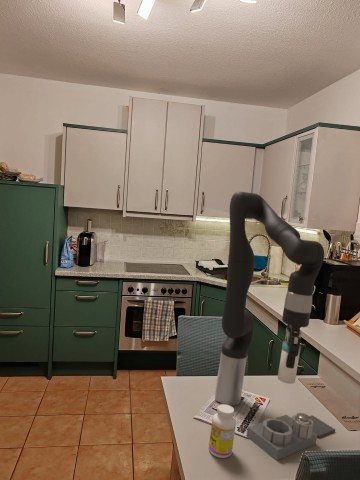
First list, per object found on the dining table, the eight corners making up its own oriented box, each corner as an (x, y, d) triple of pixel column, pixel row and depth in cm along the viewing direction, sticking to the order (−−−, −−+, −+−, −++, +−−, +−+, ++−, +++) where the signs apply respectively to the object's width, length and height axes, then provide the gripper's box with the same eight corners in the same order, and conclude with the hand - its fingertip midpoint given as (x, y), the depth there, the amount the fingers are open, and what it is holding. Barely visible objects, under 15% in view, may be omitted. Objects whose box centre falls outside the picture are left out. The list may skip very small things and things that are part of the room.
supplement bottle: (206, 443, 109) (212, 401, 108) (228, 444, 110) (234, 402, 109) (210, 458, 102) (216, 414, 101) (233, 460, 103) (240, 415, 102)
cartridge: (278, 381, 109) (283, 345, 108) (276, 374, 114) (282, 339, 113) (296, 385, 108) (301, 348, 107) (294, 377, 113) (299, 342, 112)
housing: (276, 460, 105) (280, 436, 105) (246, 436, 115) (249, 414, 115) (315, 444, 116) (319, 422, 115) (285, 423, 125) (288, 403, 125)
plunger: (302, 437, 113) (304, 421, 112) (291, 429, 116) (293, 414, 116) (310, 434, 115) (313, 418, 115) (299, 427, 118) (302, 411, 118)
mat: (318, 438, 119) (318, 435, 119) (295, 423, 126) (295, 420, 126) (334, 431, 124) (335, 429, 124) (311, 417, 131) (312, 415, 131)
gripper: (314, 316, 102) (305, 376, 103) (307, 304, 116) (298, 357, 117) (286, 311, 103) (277, 371, 104) (282, 300, 117) (274, 352, 118)
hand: (288, 363), depth 111 cm, fingers closed on cartridge, 5 cm apart
